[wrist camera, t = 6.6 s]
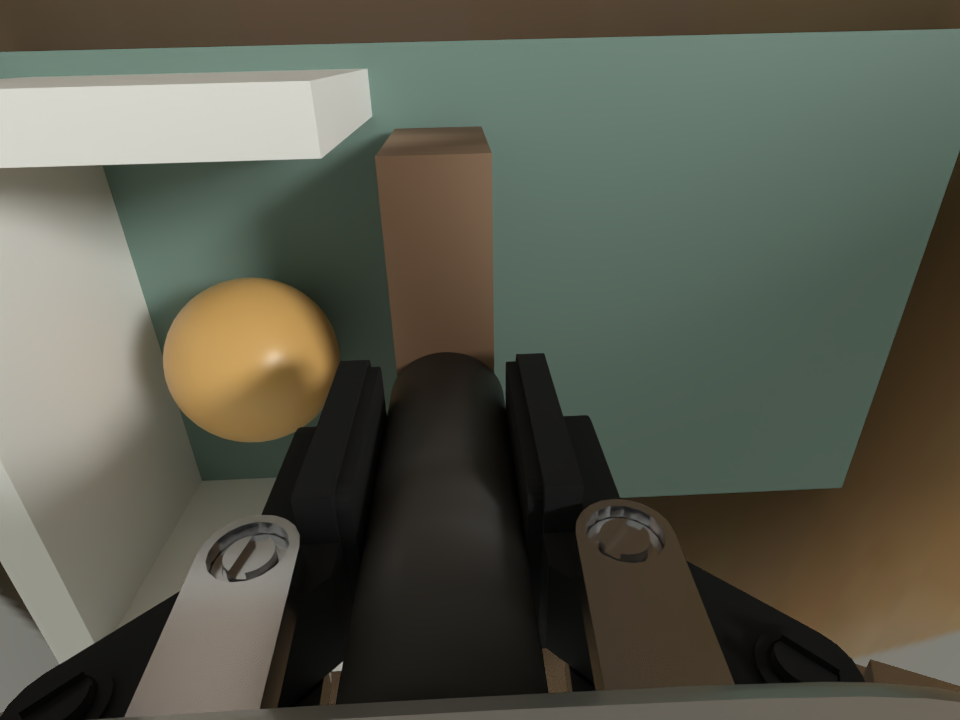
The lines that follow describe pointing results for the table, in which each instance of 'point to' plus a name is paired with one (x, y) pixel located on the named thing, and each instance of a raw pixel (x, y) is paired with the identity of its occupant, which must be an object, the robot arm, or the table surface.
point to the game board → (516, 260)
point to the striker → (442, 451)
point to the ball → (250, 359)
